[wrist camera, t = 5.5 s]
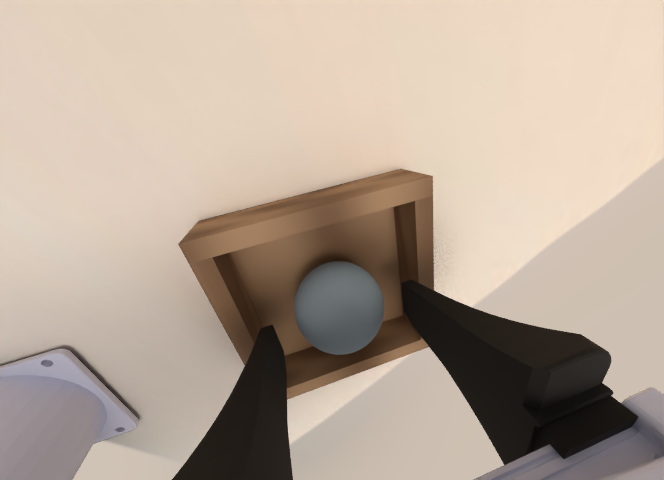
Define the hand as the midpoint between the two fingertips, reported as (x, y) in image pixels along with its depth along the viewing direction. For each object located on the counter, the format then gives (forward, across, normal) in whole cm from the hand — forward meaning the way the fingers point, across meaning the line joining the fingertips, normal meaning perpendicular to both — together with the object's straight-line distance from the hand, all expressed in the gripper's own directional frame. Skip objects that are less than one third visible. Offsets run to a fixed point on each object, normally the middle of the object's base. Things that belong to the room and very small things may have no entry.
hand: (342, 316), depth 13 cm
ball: (+3, 0, 0) cm, 3 cm away
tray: (+4, 0, 0) cm, 4 cm away
